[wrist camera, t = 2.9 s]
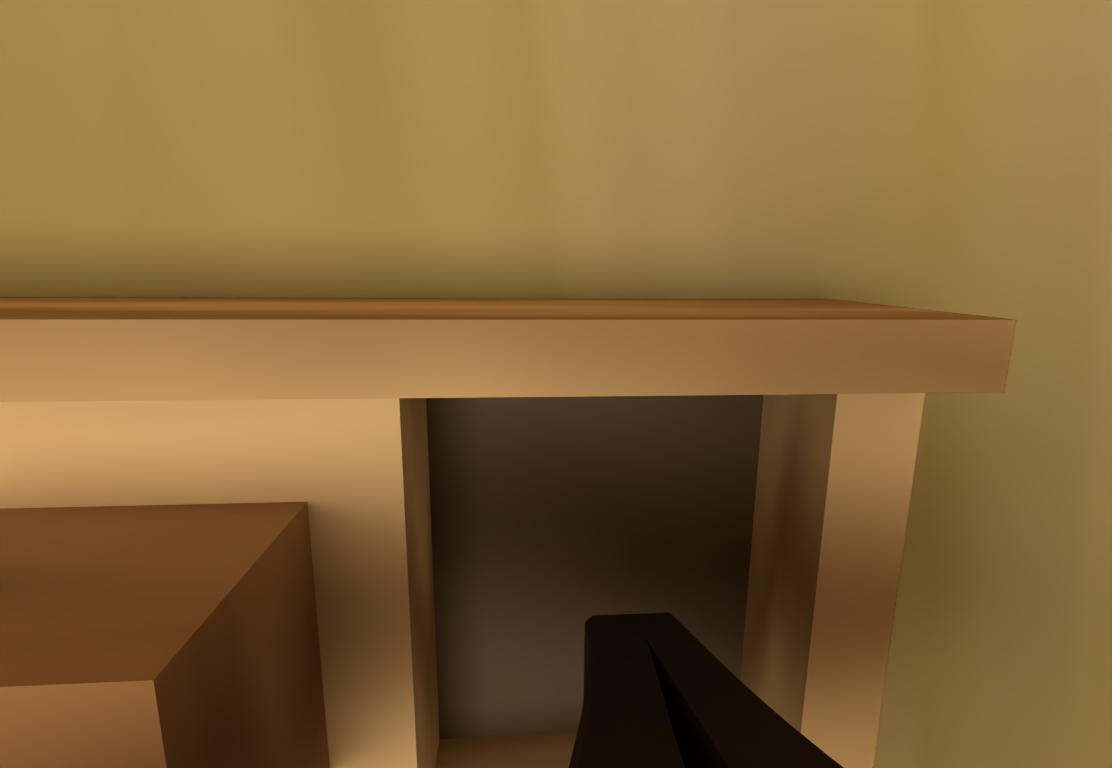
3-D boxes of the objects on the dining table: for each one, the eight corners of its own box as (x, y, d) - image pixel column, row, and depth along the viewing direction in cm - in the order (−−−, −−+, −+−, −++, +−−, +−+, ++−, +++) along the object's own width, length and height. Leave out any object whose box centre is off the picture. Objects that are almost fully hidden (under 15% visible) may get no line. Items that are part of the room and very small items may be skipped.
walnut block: (329, 769, 10) (214, 1089, 6) (25, 787, 10) (-302, 1137, 6) (307, 501, 9) (154, 679, 5) (-35, 509, 9) (-474, 707, 5)
